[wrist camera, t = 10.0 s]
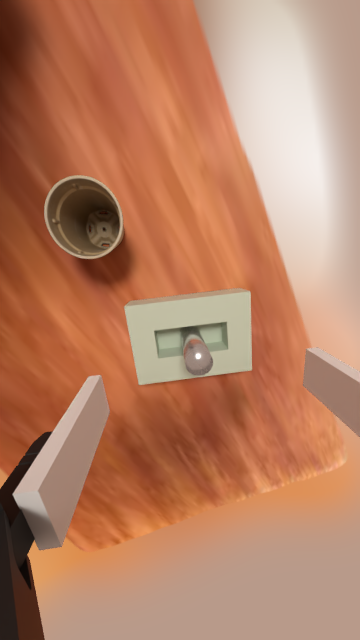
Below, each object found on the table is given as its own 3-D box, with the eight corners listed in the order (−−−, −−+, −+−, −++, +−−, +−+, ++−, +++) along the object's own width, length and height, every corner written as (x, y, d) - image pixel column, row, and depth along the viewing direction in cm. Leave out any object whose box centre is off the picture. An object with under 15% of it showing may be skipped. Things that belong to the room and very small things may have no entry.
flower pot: (92, 269, 35) (69, 270, 27) (63, 212, 32) (27, 194, 24) (143, 247, 35) (135, 241, 26) (117, 188, 32) (100, 161, 24)
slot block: (129, 301, 37) (124, 306, 32) (239, 287, 37) (250, 291, 32) (142, 370, 40) (138, 385, 36) (242, 357, 41) (251, 370, 36)
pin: (178, 324, 37) (183, 352, 26) (198, 322, 37) (212, 348, 26) (181, 343, 38) (186, 377, 27) (200, 340, 38) (214, 373, 27)
